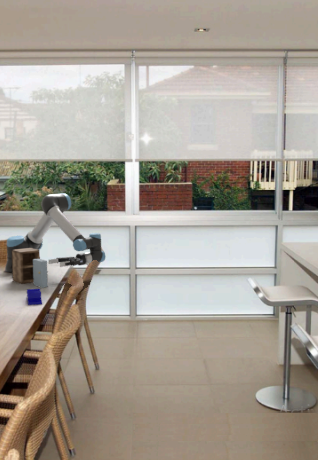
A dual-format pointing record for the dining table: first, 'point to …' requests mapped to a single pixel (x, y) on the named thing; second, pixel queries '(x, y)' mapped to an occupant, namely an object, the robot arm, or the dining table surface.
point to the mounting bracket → (34, 296)
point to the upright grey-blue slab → (40, 273)
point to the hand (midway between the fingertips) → (54, 263)
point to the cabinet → (23, 264)
